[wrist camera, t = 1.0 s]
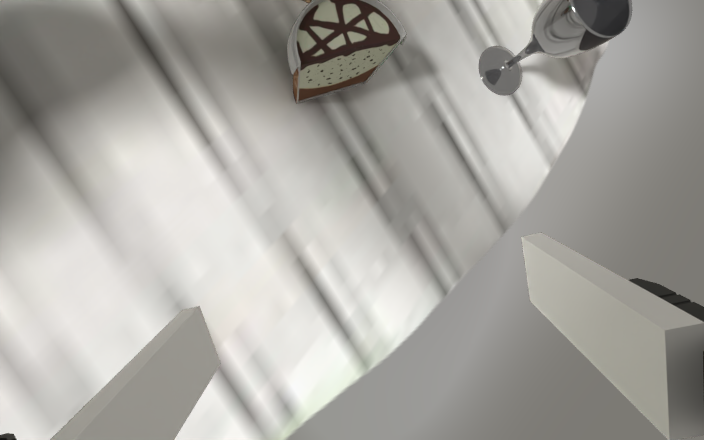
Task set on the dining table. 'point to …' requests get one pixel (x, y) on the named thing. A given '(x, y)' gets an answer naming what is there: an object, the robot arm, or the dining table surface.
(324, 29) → the food container
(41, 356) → the dining table surface
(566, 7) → the wine glass
